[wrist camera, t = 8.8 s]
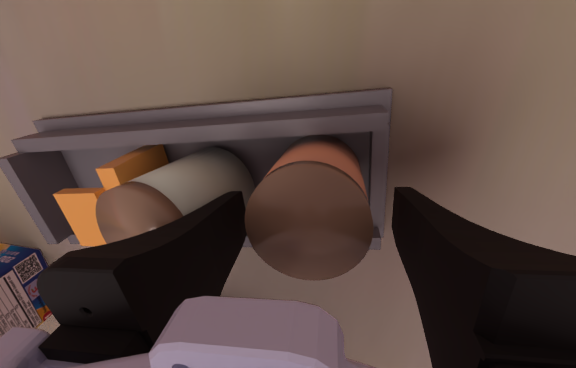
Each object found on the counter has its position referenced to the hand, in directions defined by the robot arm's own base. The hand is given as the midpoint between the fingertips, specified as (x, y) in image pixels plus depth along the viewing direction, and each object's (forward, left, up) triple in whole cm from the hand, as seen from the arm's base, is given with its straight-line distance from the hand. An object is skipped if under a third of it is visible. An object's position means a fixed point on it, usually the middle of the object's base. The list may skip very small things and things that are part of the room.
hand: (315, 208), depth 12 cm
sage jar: (0, +6, -3) cm, 7 cm away
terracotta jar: (0, 0, -3) cm, 3 cm away
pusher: (0, +11, -3) cm, 12 cm away
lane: (0, +7, -4) cm, 8 cm away
